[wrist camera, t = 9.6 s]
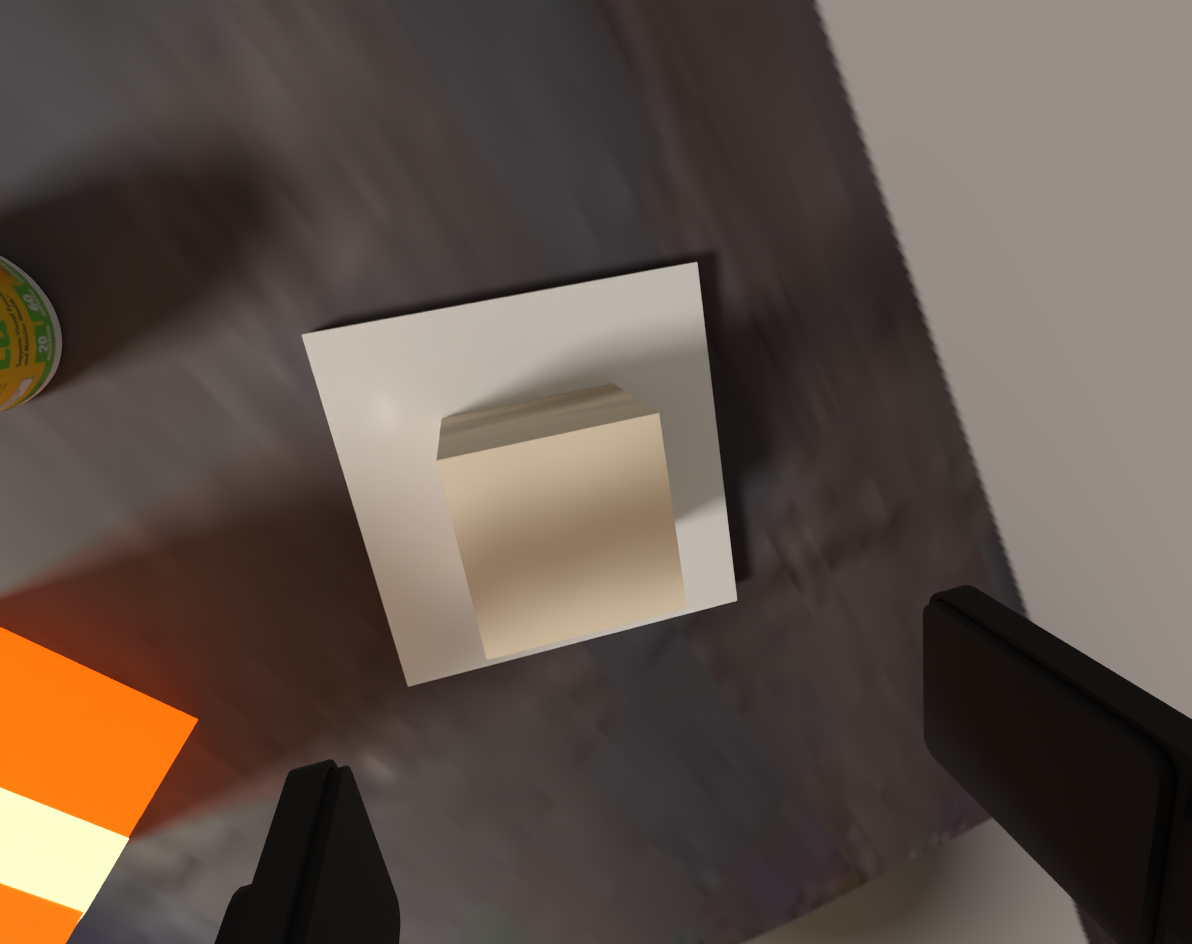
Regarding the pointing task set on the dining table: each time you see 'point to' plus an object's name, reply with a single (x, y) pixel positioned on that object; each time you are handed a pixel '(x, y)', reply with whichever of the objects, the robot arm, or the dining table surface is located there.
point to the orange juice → (70, 783)
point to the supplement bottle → (25, 337)
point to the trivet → (502, 377)
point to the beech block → (561, 516)
